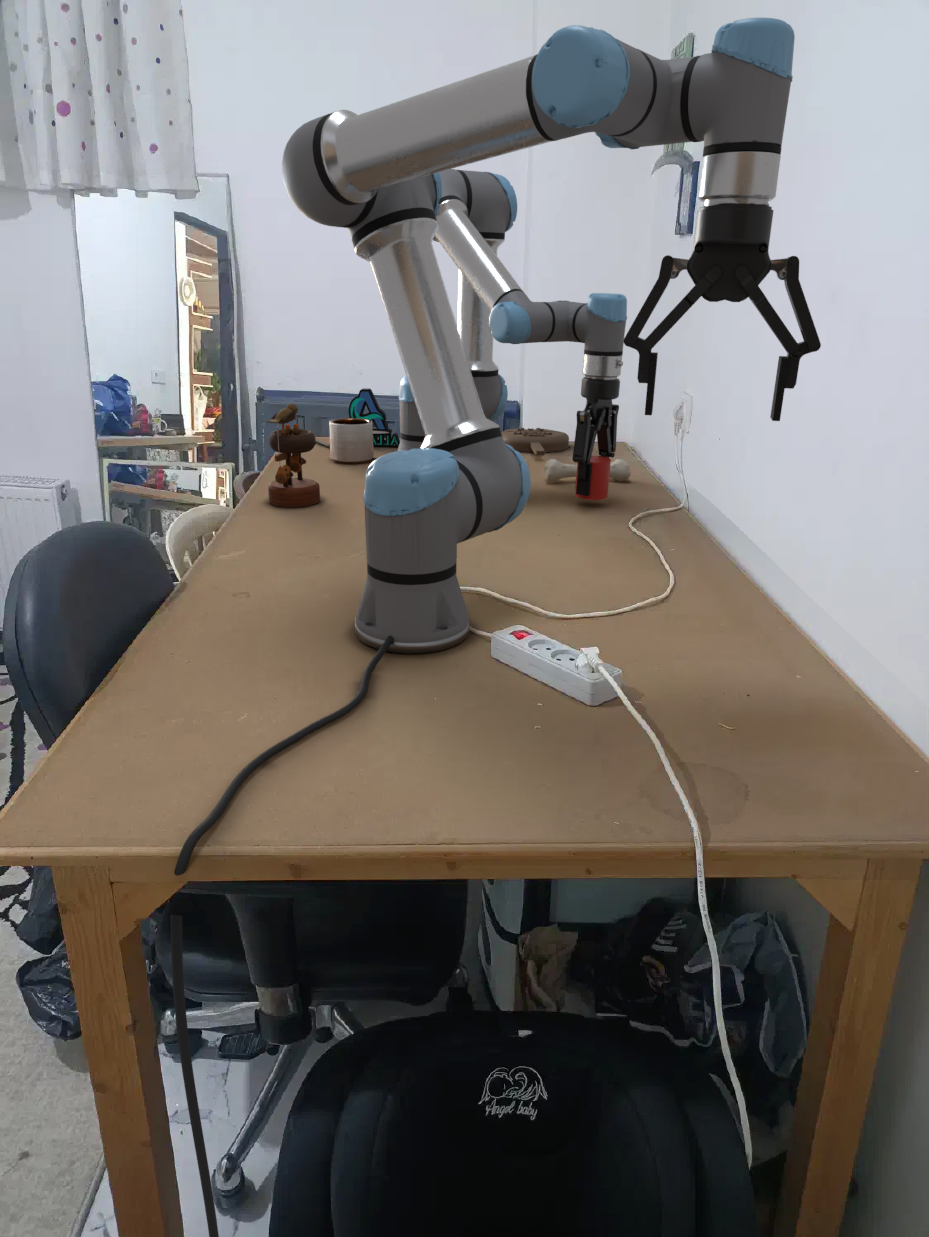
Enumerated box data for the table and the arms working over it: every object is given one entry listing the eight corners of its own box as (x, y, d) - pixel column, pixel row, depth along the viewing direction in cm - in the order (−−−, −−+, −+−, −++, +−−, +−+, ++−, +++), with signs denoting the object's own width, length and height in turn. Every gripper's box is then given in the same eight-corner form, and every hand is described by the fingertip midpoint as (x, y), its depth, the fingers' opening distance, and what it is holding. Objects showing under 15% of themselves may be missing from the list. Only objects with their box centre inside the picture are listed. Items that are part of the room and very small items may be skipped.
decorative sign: (401, 445, 233) (400, 389, 227) (399, 446, 230) (399, 390, 225) (333, 443, 234) (330, 387, 228) (331, 445, 231) (328, 388, 226)
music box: (312, 509, 169) (298, 407, 161) (260, 512, 170) (243, 411, 162) (332, 491, 183) (320, 396, 175) (283, 493, 184) (269, 399, 176)
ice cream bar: (499, 460, 215) (500, 444, 214) (491, 440, 241) (491, 425, 240) (581, 461, 216) (582, 444, 215) (564, 441, 242) (565, 426, 241)
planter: (327, 456, 217) (325, 418, 214) (369, 454, 220) (368, 417, 217) (334, 465, 208) (332, 425, 204) (377, 463, 211) (376, 424, 207)
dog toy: (623, 476, 201) (625, 455, 199) (632, 482, 195) (634, 461, 193) (540, 478, 198) (541, 457, 196) (547, 484, 192) (548, 462, 190)
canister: (611, 499, 173) (615, 462, 170) (580, 500, 172) (583, 462, 169) (601, 491, 180) (604, 455, 176) (570, 492, 178) (573, 455, 175)
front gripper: (860, 206, 87) (825, 416, 95) (614, 208, 92) (601, 406, 100) (874, 200, 80) (835, 427, 88) (609, 202, 85) (594, 416, 93)
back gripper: (594, 383, 157) (584, 503, 166) (640, 374, 172) (629, 485, 181) (559, 379, 161) (551, 497, 170) (607, 371, 176) (598, 479, 185)
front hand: (710, 416), depth 94 cm, fingers open, 13 cm apart
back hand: (591, 491), depth 176 cm, fingers closed on canister, 7 cm apart
